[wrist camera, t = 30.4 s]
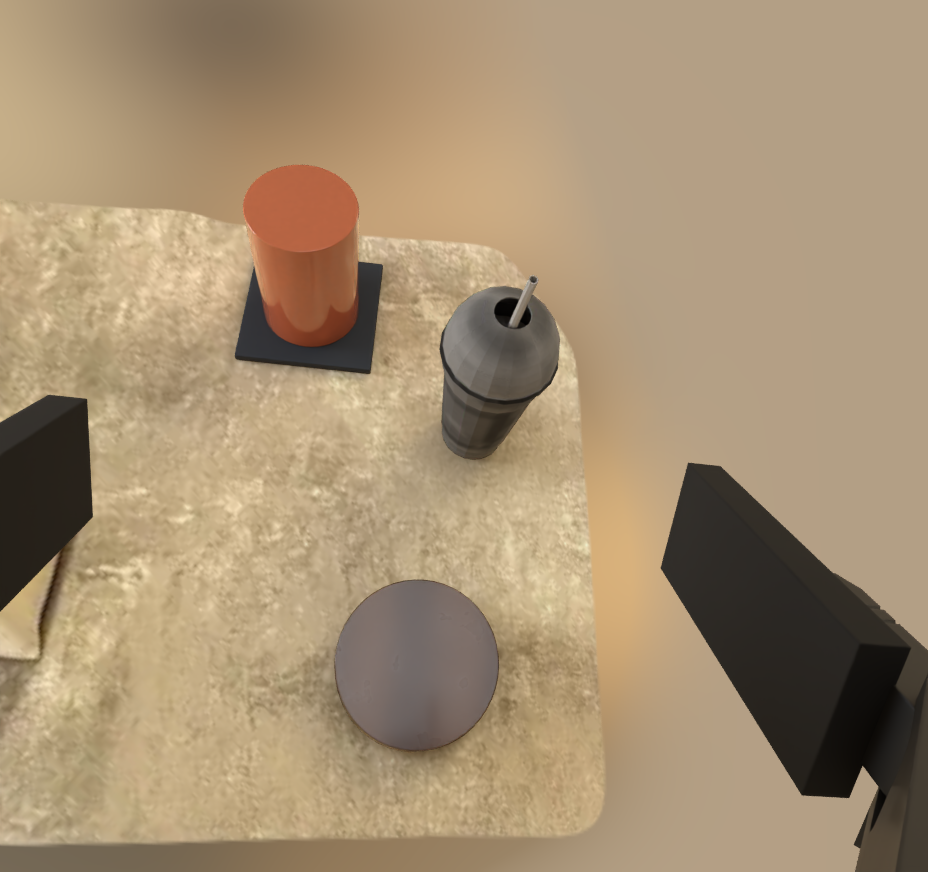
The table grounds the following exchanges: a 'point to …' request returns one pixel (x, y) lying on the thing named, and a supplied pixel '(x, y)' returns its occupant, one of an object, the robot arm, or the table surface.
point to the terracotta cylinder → (305, 252)
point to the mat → (340, 355)
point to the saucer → (416, 665)
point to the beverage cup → (494, 365)
